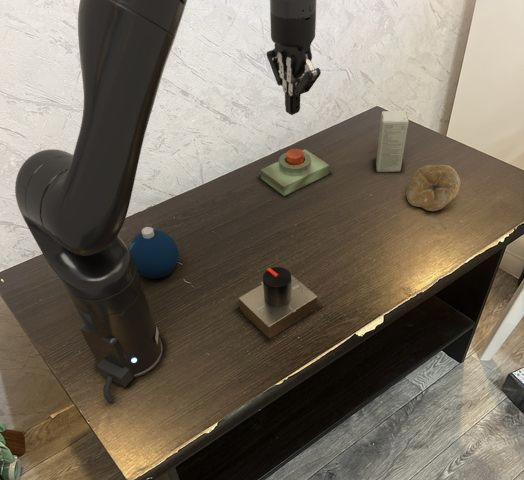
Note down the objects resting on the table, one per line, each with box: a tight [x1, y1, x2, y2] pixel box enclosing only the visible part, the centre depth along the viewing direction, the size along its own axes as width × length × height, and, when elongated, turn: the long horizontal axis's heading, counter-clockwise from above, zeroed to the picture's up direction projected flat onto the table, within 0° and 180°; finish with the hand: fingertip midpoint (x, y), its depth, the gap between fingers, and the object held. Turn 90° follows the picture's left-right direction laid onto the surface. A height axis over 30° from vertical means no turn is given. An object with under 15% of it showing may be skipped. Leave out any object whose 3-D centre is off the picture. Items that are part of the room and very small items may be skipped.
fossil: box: [405, 164, 462, 212], centre depth 97 cm, size 9×4×10 cm
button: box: [285, 148, 304, 165], centre depth 103 cm, size 4×4×2 cm
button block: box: [260, 148, 330, 197], centre depth 105 cm, size 12×8×4 cm, turn 126°
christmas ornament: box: [128, 226, 179, 279], centre depth 86 cm, size 8×8×10 cm
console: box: [238, 274, 318, 340], centre depth 82 cm, size 10×9×3 cm
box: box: [375, 110, 410, 173], centre depth 103 cm, size 5×4×11 cm
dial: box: [262, 266, 292, 307], centre depth 79 cm, size 4×4×5 cm
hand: (292, 112), depth 95 cm, fingers closed
